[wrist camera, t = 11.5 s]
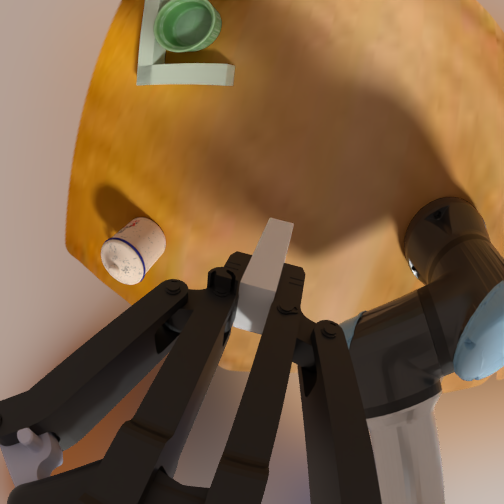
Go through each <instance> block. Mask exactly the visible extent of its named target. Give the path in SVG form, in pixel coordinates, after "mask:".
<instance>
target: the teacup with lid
mask: <svg viewBox="0 0 504 504" xmlns="http://www.w3.org/2000/svg"><path fill="white" fill-rule="evenodd" d="M165 247H166V240H165V236H164V234H163V232H162V230H161V229H160V227H159V226H158V225H157V224H156V223H155V222H153V221H152V220H150V219H147V218H142V217H140V218H135V219H133V220H132V221H131V222H129V223H128V224H127V225H126V226H125V227H124V228H122V229H121V230H120V231H119V232H118V233H117V234H115V235H114V236H113V237H112V238H110V239H108V240H106V241H105V242H104V244H103V246H102V249H101V258H102V262H103V264H104V266H105V268H106V270H107V271H108V272H109V273H110V275H111V276H113V277H114V278H115V279H116V280H118V281H119V282H122V283H124V284H129V285H132V284H136V283H139V282H140V281H142V279H143V278H144V276H145V274H146V272H147V271H148V270H149V269H150V268H151V266H152V265H153V264H154V263H155V262H156V261H157V259H158V258H159V257H160V256H161V255H162V254H163V252H164V250H165Z"/></svg>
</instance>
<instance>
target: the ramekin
mask: <svg viewBox="0 0 504 504" xmlns="http://www.w3.org/2000/svg"><path fill="white" fill-rule="evenodd" d="M221 25H222V21H221V17H220V14H219V13H218V11H217V10H216V9H215V8H214V7H213V6H212V4H211V3H210V2H209V1H208V0H170V1H169V2H168V3H166V4H165V5H164V6H163V7H162V8H161V10H160V11H159V12H158V14H157V16H156V18H155V21H154V26H153V31H154V36H155V39H156V41H157V42H158V44H159V45H160V46H161V47H163V48H164V49H166V50H168V51H172V52H186V51H198V50H201V49H204V48H206V47H207V46H209V45H210V44H212V43H213V42H214V41H215V39H216V38H217V37H218V35H219V33H220V30H221Z"/></svg>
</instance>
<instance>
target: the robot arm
mask: <svg viewBox="0 0 504 504" xmlns="http://www.w3.org/2000/svg"><path fill="white" fill-rule="evenodd" d="M293 226H294V223H290V222H286V221H282V220H278V219H274V218H269V220H268V222H267V225H266V227H265V229H264V231H263V233H262V236H261V238H260V240H259V242H258V244H257V246H256V249H255V251H254V253H253V255H249V254H245V253H241V252H238V251H237V252H235V253H233V254H232V255H230V257H229V259H228V260H227V262H226V264H225V265H224V267H216V268H214V269H211V270H210V271H209V272H208V283H207V288H206V289H203V290H191V289H188V287H187V285H186V284H185V283H184V282H183V281H180V280H177V279H170V280H166V281H164V282H162V283H161V284H159V285H158V286H157V287H155V288H154V289H153V290H152V291H150V292H149V293H148V294H146V295H145V296H144V297H142V298H141V299H140V300H139V301H137V302H136V303H135V304H134V305H132V306H131V307H130V308H128V309H127V310H126V311H125V312H123V313H122V314H121V315H120V316H118V317H117V318H116V319H114V320H113V321H112V322H111V323H110V324H108V325H107V326H106V327H104V328H103V329H102V330H101V331H99V332H98V333H97V334H96V335H94V336H93V337H92V338H91V339H90V340H88V341H87V342H86V343H85V344H83V345H82V346H81V347H80V348H78V349H77V350H76V351H75V352H74V353H72V354H71V355H70V356H69V357H68V358H66V359H65V360H64V361H63V362H62V363H61V364H59V365H58V366H57V367H56V368H54V369H53V370H52V371H51V372H50V373H48V374H47V375H46V376H45V377H44V378H43V379H41V380H40V381H39V382H38V383H37V384H35V385H34V386H33V387H32V388H31V389H30V390H28V391H26V392H24V393H21V394H18V395H16V396H13V397H10V398H8V399H5V400H2V401H0V447H1V450H2V453H3V456H4V459H5V462H6V465H7V467H8V470H9V473H10V475H11V478H12V480H13V483H14V485H15V488H14V489H13V490H12V492H11V493H10V495H9V497H8V501H7V504H261V501H262V498H263V494H264V491H265V487H266V484H267V480H268V475H269V468H268V467H269V461H270V457H271V453H272V449H273V445H274V441H275V437H276V433H277V429H278V425H279V420H280V415H281V412H282V407H283V402H284V398H285V393H286V389H287V384H288V379H289V374H290V369H291V364H292V362H294V363H296V364H298V375H299V384H300V392H301V402H302V411H303V420H304V430H305V441H306V451H307V462H308V474H309V486H310V500H311V504H445V500H444V481H443V470H442V460H441V451H440V444H439V437H438V430H437V424H436V418H435V414H434V406H435V404H436V403H437V401H438V399H439V397H440V395H441V394H442V388H441V383H440V378H441V377H443V376H446V375H448V374H451V373H453V372H455V373H456V374H457V375H458V376H459V377H460V378H461V379H463V380H466V381H472V380H473V379H475V380H480V379H482V378H485V377H487V376H489V375H491V374H493V373H494V372H496V371H498V370H499V369H500V368H502V367H503V366H504V259H503V257H502V256H501V255H500V253H499V252H498V251H497V250H496V248H495V247H494V246H493V245H492V243H491V242H490V239H489V235H488V232H487V229H486V225H485V222H484V220H483V218H482V216H481V215H480V213H479V212H478V211H477V210H476V209H475V208H474V207H473V206H472V205H471V204H470V203H468V202H467V201H465V200H463V199H460V198H456V197H445V198H440V199H437V200H435V201H433V202H431V203H429V204H427V205H426V206H425V207H423V208H422V209H421V210H420V211H419V212H418V213H417V214H416V215H415V217H414V218H413V220H412V221H411V223H410V225H409V227H408V229H407V232H406V235H405V240H404V252H405V257H406V259H407V262H408V265H409V267H410V269H411V271H412V272H413V274H414V275H415V276H416V277H417V278H418V279H419V280H420V281H421V282H422V283H423V284H424V285H425V286H424V287H421V288H419V289H417V290H415V291H413V292H411V293H408V294H406V295H404V296H402V297H400V298H398V299H395V300H393V301H391V302H388V303H386V304H384V305H381V306H379V307H377V308H374V309H372V310H369V311H362V312H361V313H359V315H357V316H355V317H353V318H351V319H349V320H346V321H344V322H342V323H340V324H339V325H338V324H337V323H335V322H333V321H329V320H321V321H319V322H317V323H315V322H313V321H311V320H309V319H308V318H306V317H305V316H304V315H303V313H302V311H301V309H300V305H301V299H302V293H303V286H304V280H305V272H304V270H303V268H302V267H298V266H294V265H290V264H286V263H284V262H285V258H286V254H287V250H288V246H289V242H290V238H291V234H292V230H293ZM233 322H234V324H233ZM232 325H233V327H236V328H240V329H243V330H247V331H250V332H254V333H258V334H261V335H262V336H261V339H260V342H259V346H258V349H257V352H256V355H255V359H254V362H253V365H252V368H251V371H250V374H249V378H248V381H247V384H246V387H245V390H244V393H243V396H242V399H241V402H240V405H239V408H238V411H237V414H236V417H235V420H234V423H233V426H232V429H231V432H230V435H229V438H228V441H227V443H226V446H225V449H224V452H223V455H222V457H221V460H220V462H219V465H218V468H217V470H216V473H215V476H214V479H213V481H212V484H211V487H210V488H202V487H193V486H185V485H182V484H180V483H178V482H177V481H175V480H174V479H173V476H174V474H175V471H176V468H177V464H178V460H179V457H180V454H181V452H182V450H183V447H184V445H185V443H186V440H187V438H188V435H189V433H190V431H191V428H192V426H193V423H194V421H195V419H196V416H197V414H198V411H199V409H200V407H201V404H202V402H203V400H204V397H205V395H206V392H207V390H208V387H209V385H210V383H211V380H212V378H213V375H214V373H215V371H216V368H217V366H218V363H219V361H220V358H221V356H222V354H223V351H224V349H225V346H226V344H227V341H228V339H229V336H230V332H231V327H232ZM169 352H170V353H169ZM168 353H169V354H168ZM167 354H168V356H167V358H166V360H165V361H164V363H163V365H162V367H161V369H160V370H159V372H158V374H157V376H156V377H155V379H154V381H153V383H152V385H151V386H150V388H149V390H148V392H147V394H146V395H145V397H144V399H143V401H142V403H141V404H140V407H139V408H138V410H137V412H136V414H135V415H134V417H133V418H132V419H131V420H129V421H126V422H125V423H124V424H123V425H122V426H121V428H120V429H119V431H118V432H117V434H116V436H115V438H114V440H113V441H112V443H111V445H110V447H109V449H108V451H107V452H106V454H105V456H104V458H103V459H101V460H98V461H95V462H92V463H89V464H87V465H84V466H81V467H78V468H75V469H72V470H69V471H66V472H64V473H60V474H57V475H54V476H50V474H51V472H52V471H53V470H54V469H55V468H56V467H58V466H60V465H61V464H62V463H63V454H62V451H64V450H66V449H68V448H70V447H71V446H73V445H74V444H75V443H77V442H78V441H79V440H80V439H82V438H83V437H84V436H85V435H86V434H87V433H88V432H89V431H90V430H91V429H92V428H93V427H94V426H95V425H96V424H97V423H99V421H101V420H102V418H104V417H105V416H106V415H107V414H108V413H109V412H110V411H111V410H112V409H113V408H114V407H115V406H116V405H117V404H118V403H119V402H120V401H121V400H122V398H124V397H125V396H126V395H127V394H128V393H129V392H130V391H131V390H132V389H133V388H134V387H135V386H136V385H137V384H138V383H139V382H140V381H141V380H142V379H143V378H144V377H145V376H146V375H147V374H148V372H150V371H151V370H152V369H153V368H154V367H155V366H156V364H158V363H159V362H160V361H161V360H162V359H163V358H164V357H165V356H166V355H167ZM368 429H369V430H368ZM369 431H370V435H369ZM370 436H371V439H370ZM371 442H372V444H371ZM372 447H373V449H372ZM373 453H374V454H373Z"/></svg>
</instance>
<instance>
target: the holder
mask: <svg viewBox="0 0 504 504" xmlns="http://www.w3.org/2000/svg"><path fill="white" fill-rule="evenodd" d="M169 1H170V0H145V5H144V12H143V19H142V27H141V35H140V45H139V56H138V70H137V85H156V84H203V85H224V86H233V81H234V72H235V66H234V65H230V64H217V63H181V64H165V53H166V49H164V48H163V47H161V46H160V45H159V44H158V42H157V41H156V39H155V36H154V31H153V26H154V21H155V18H156V16H157V14H158V12H159V11H160V10H161V8H162V7H163V6H164V5H165V4H166V3H168V2H169Z"/></svg>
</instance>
